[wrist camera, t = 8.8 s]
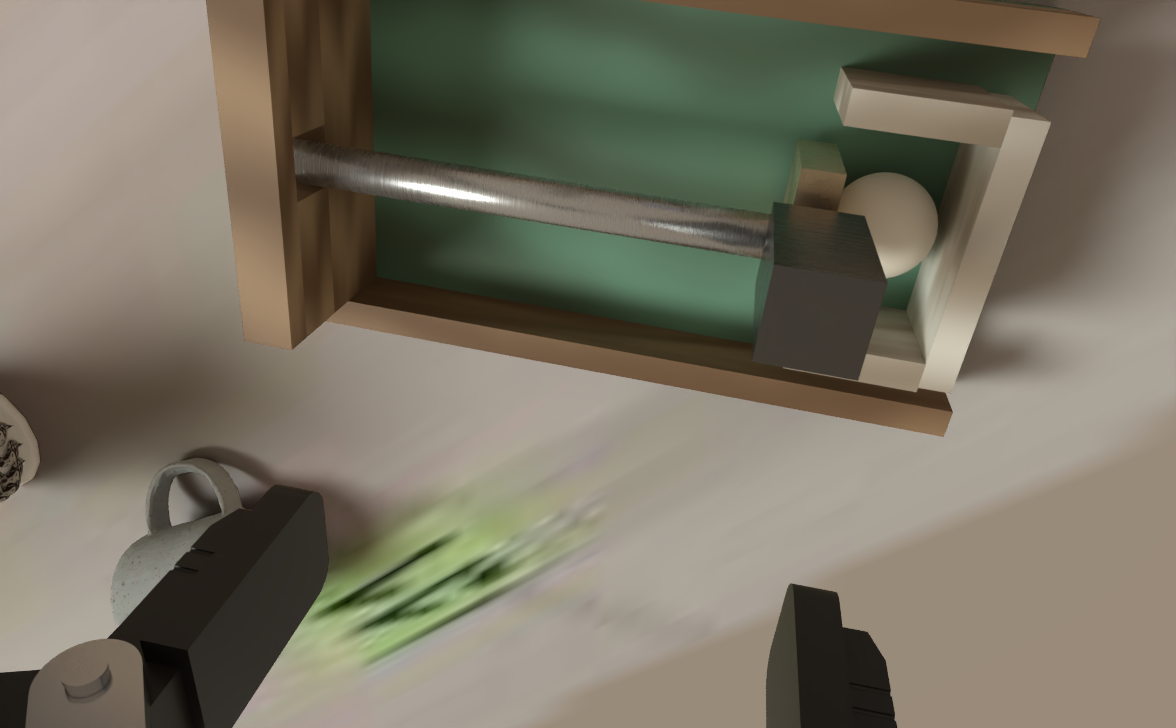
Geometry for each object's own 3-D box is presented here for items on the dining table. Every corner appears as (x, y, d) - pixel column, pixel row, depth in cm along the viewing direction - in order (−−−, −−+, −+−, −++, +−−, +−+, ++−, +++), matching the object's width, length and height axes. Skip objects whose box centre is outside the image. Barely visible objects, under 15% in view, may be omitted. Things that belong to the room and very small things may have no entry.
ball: (896, 158, 32) (818, 160, 31) (976, 189, 29) (895, 193, 28) (869, 252, 34) (795, 259, 33) (942, 290, 31) (864, 300, 30)
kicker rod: (308, 66, 34) (113, 121, 24) (856, 147, 31) (898, 247, 21) (315, 184, 36) (140, 278, 26) (825, 268, 34) (849, 410, 23)
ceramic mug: (332, 570, 51) (264, 665, 44) (237, 599, 54) (160, 691, 47) (234, 432, 47) (144, 512, 41) (138, 471, 50) (40, 550, 44)
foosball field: (337, -81, 33) (196, -87, 25) (1057, 7, 30) (1166, 34, 22) (351, 281, 41) (247, 367, 33) (925, 384, 37) (969, 509, 29)
